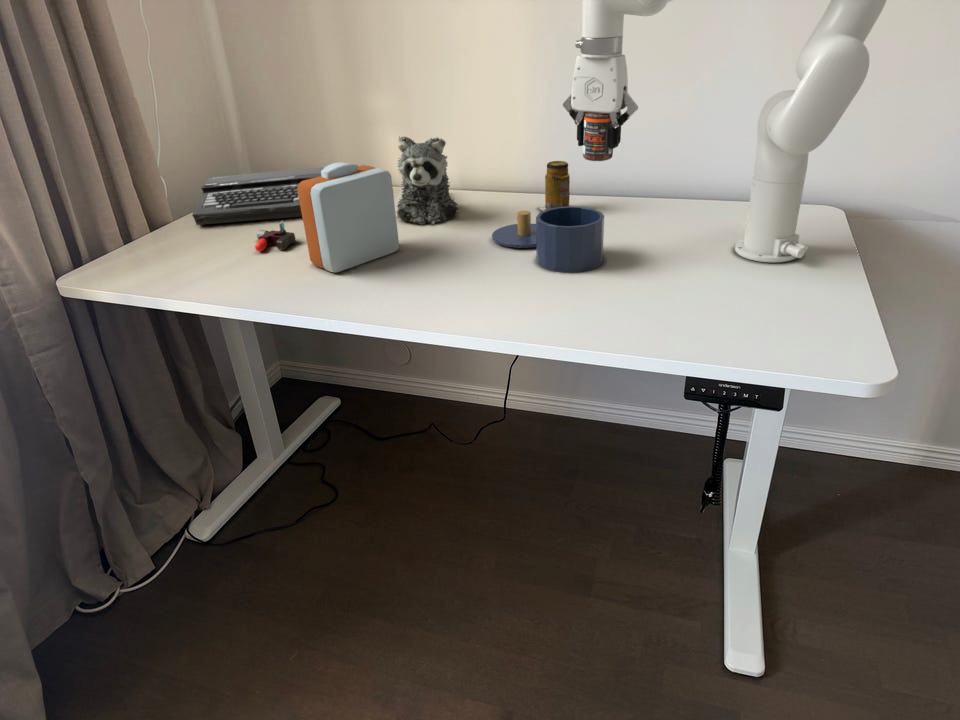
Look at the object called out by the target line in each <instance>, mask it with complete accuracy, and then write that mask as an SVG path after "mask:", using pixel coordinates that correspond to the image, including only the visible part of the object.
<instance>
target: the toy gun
mask: <svg viewBox="0 0 960 720" xmlns="http://www.w3.org/2000/svg"><path fill="white" fill-rule="evenodd" d="M278 224H279V230H274V229H273V230H270V231H269V230H267V229H266V230H264V229H259V230H258V231H257V232H256V238H257V240H258V241H257V242H256V243H255V245H254V249H255V250H256V251H257V252H259V253H260V252H264V250H265V248H266V247H267V246H268V247H269V246H270V245H276V248H277V249H278V250H283V251H284V250H286V249H287V248H288V247H289V246H291V245H293V244H296V243H297V241H296V240H297V239H296V235H295V233H294V232H291V231H287V229H285V228H286V227H285V223H284V220H281V221H280V222H279V223H278Z"/></svg>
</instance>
